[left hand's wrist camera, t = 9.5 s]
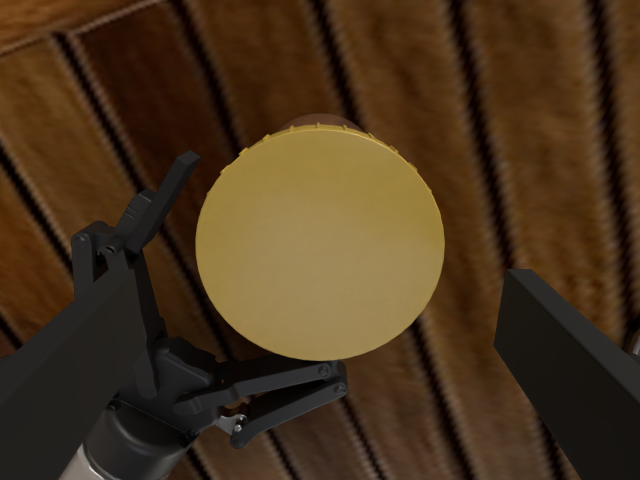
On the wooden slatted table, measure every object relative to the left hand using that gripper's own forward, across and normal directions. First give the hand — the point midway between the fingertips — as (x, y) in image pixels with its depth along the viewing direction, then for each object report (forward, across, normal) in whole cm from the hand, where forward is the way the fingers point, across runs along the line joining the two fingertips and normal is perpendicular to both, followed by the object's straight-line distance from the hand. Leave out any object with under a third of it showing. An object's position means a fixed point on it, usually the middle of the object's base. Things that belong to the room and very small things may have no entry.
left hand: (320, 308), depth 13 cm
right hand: (+13, +2, +1) cm, 14 cm away
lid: (+5, 0, 0) cm, 5 cm away
